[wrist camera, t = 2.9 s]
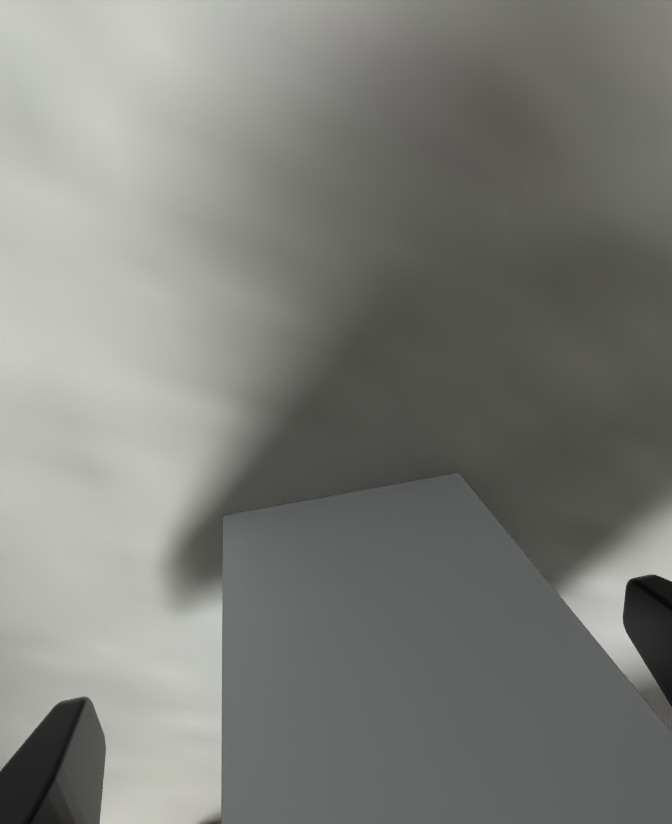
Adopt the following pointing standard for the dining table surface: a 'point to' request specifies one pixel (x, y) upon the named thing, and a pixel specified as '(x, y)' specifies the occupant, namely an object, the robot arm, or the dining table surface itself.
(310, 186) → the dining table surface
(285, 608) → the block
